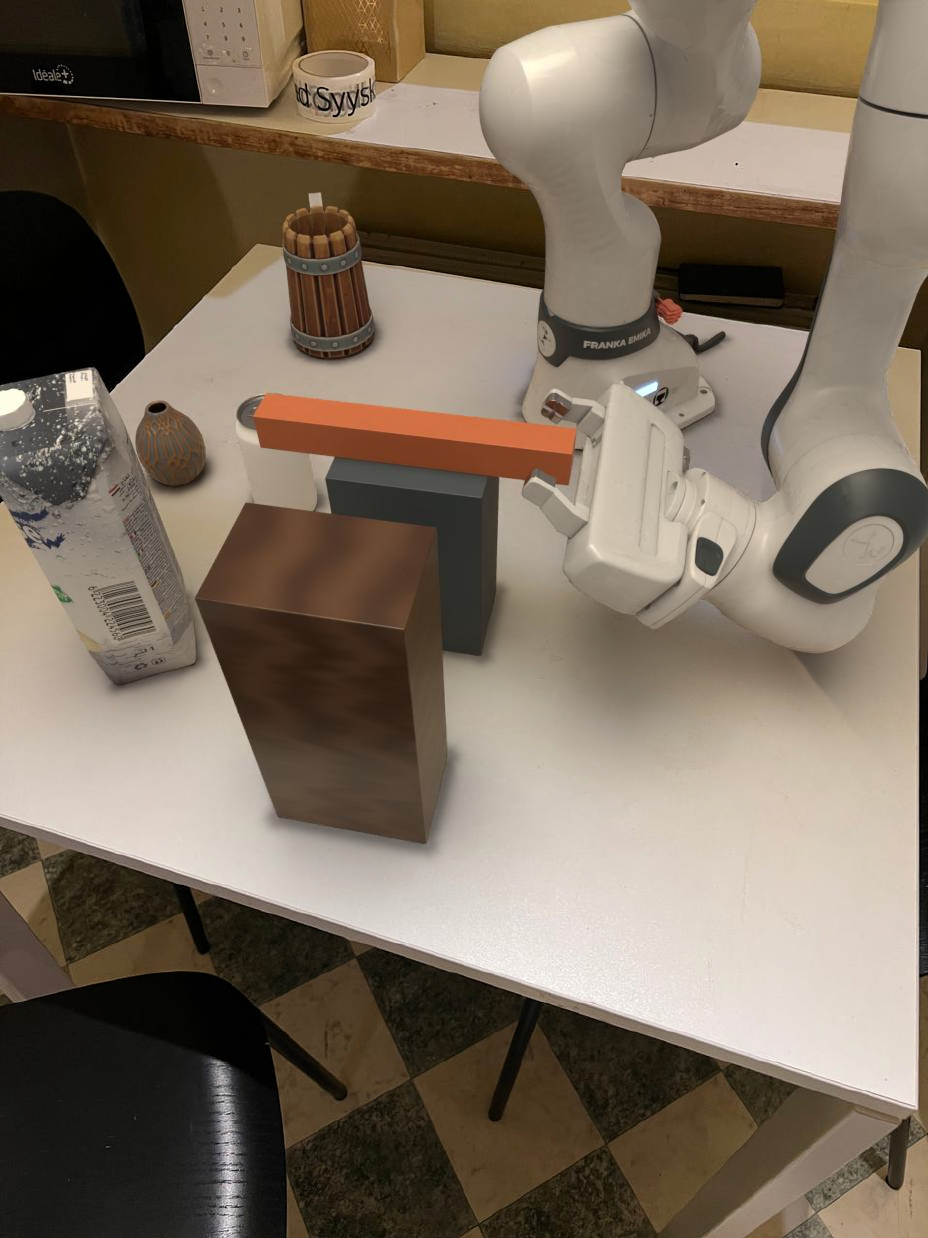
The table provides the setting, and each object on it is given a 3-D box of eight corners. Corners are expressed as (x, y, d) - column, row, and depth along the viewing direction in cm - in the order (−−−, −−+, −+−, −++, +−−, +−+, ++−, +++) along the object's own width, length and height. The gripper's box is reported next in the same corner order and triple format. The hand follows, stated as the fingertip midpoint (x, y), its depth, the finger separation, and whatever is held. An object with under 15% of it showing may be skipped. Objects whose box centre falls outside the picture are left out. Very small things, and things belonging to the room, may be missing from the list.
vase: (180, 503, 91) (157, 436, 84) (133, 480, 93) (107, 413, 86) (225, 466, 95) (205, 399, 88) (179, 445, 97) (156, 379, 90)
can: (307, 530, 88) (287, 435, 79) (247, 521, 89) (221, 427, 80) (326, 488, 92) (309, 394, 83) (268, 480, 93) (246, 386, 84)
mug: (379, 356, 108) (368, 238, 96) (294, 364, 107) (272, 247, 95) (367, 292, 118) (356, 178, 106) (290, 299, 117) (269, 185, 105)
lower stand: (496, 590, 82) (500, 430, 68) (480, 656, 77) (482, 498, 63) (375, 573, 84) (354, 413, 70) (352, 636, 79) (324, 477, 64)
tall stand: (447, 755, 71) (437, 527, 51) (426, 844, 66) (404, 630, 46) (308, 731, 73) (245, 501, 53) (276, 817, 68) (193, 598, 48)
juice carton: (190, 588, 83) (96, 339, 62) (209, 670, 77) (110, 423, 56) (96, 613, 81) (-35, 365, 60) (106, 699, 75) (-35, 455, 54)
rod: (573, 460, 66) (576, 428, 63) (568, 485, 64) (572, 453, 61) (273, 424, 69) (266, 392, 66) (260, 447, 67) (252, 416, 65)
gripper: (715, 419, 71) (578, 329, 67) (711, 604, 58) (541, 506, 54) (665, 466, 75) (534, 384, 72) (651, 647, 63) (490, 559, 59)
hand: (536, 438), depth 63 cm, fingers open, 8 cm apart
